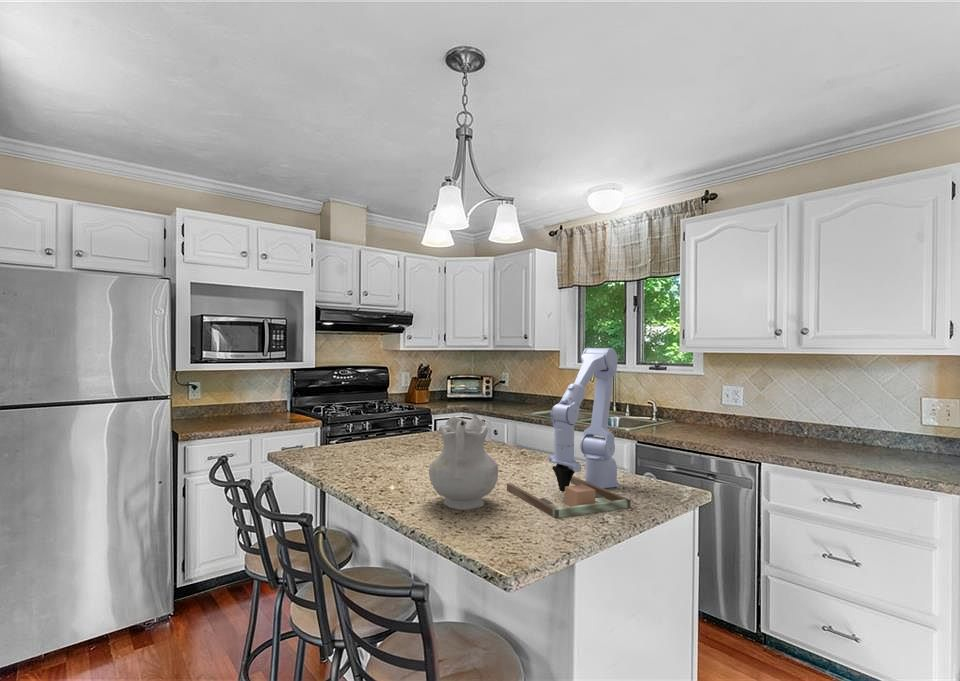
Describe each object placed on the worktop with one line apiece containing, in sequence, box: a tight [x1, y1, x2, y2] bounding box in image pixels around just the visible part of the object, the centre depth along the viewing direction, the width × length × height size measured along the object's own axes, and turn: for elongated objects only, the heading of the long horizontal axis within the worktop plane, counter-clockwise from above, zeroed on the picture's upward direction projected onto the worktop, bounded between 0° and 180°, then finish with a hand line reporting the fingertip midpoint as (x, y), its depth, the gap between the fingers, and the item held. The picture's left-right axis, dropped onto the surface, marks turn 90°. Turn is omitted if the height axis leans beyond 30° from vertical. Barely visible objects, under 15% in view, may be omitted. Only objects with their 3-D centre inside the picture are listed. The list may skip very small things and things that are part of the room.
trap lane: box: [506, 475, 632, 519], centre depth 153 cm, size 24×28×2 cm
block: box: [564, 484, 596, 507], centre depth 146 cm, size 6×6×5 cm
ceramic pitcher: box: [428, 414, 499, 511], centre depth 145 cm, size 22×20×25 cm
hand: (563, 490), depth 153 cm, fingers closed
